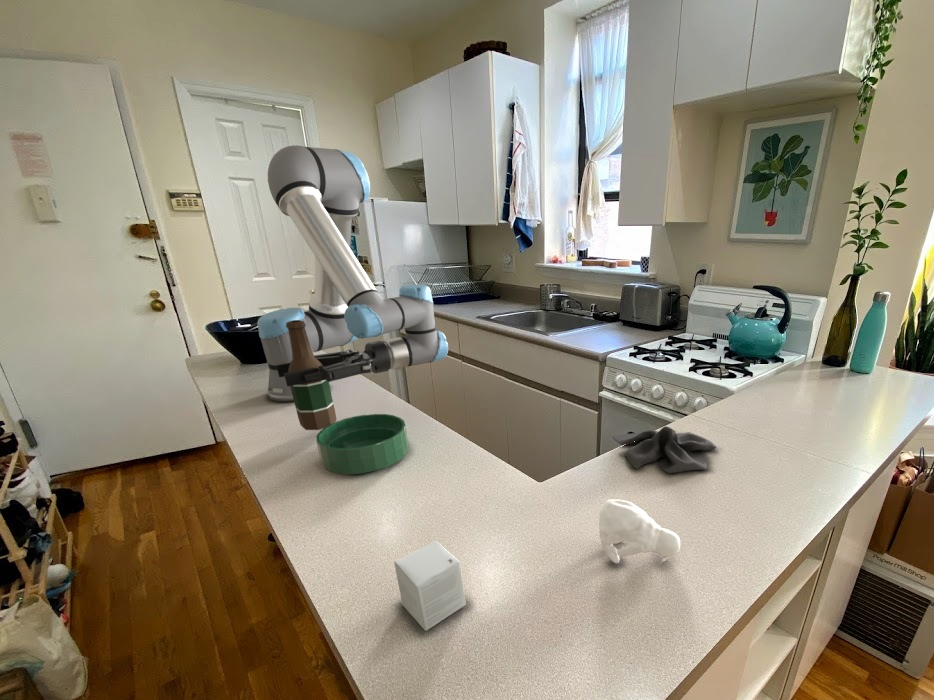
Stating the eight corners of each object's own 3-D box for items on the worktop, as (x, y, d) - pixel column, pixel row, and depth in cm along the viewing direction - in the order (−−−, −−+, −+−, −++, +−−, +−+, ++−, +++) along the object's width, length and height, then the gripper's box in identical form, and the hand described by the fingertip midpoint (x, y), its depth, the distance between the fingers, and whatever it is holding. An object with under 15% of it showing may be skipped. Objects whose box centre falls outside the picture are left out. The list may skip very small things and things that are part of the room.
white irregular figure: (604, 487, 69) (686, 503, 67) (598, 533, 72) (675, 549, 70) (598, 512, 63) (688, 530, 61) (591, 560, 67) (676, 578, 65)
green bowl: (348, 436, 107) (343, 413, 104) (420, 438, 105) (417, 414, 103) (305, 475, 91) (297, 448, 89) (389, 478, 90) (384, 450, 87)
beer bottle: (302, 420, 110) (276, 319, 100) (337, 415, 112) (316, 316, 103) (298, 433, 103) (271, 326, 94) (336, 427, 106) (313, 323, 96)
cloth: (717, 439, 102) (720, 414, 100) (713, 481, 86) (718, 452, 84) (618, 426, 109) (619, 402, 107) (598, 463, 93) (598, 436, 91)
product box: (442, 581, 64) (436, 538, 61) (467, 605, 60) (461, 561, 57) (401, 605, 60) (392, 560, 57) (424, 633, 56) (416, 586, 53)
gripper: (404, 380, 107) (297, 405, 94) (373, 361, 122) (276, 380, 108) (400, 348, 104) (288, 369, 91) (368, 333, 119) (267, 349, 105)
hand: (281, 375), depth 100 cm, fingers closed on beer bottle, 7 cm apart
